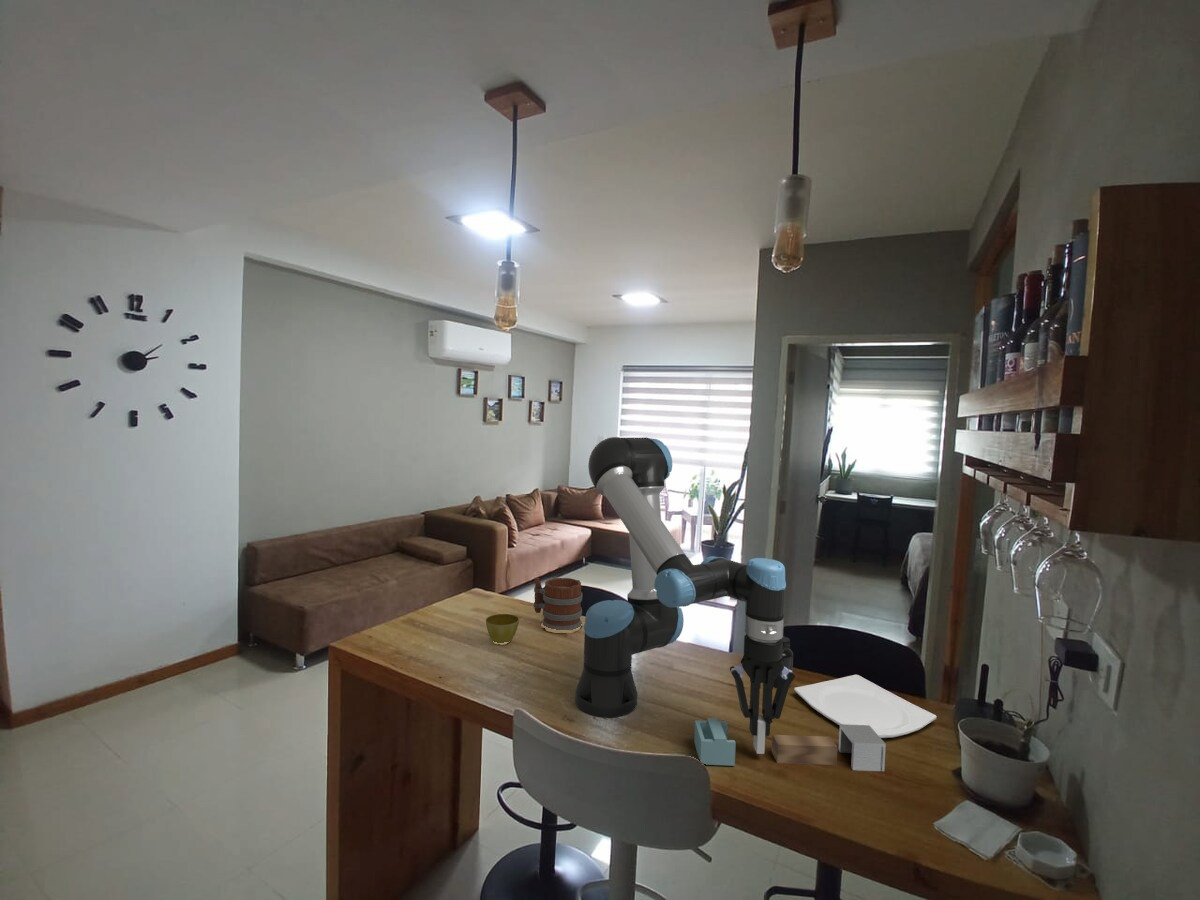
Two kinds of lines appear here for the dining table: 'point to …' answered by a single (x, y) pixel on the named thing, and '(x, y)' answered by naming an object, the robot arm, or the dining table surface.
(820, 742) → the batten
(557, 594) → the mug
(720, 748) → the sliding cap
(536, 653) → the dining table surface
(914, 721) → the plate
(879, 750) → the end cap
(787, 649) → the supplement bottle
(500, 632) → the flower pot
